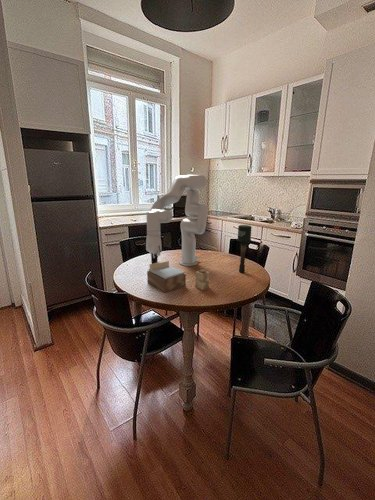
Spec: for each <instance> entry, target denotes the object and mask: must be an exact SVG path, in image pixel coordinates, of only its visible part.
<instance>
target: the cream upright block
mask: <svg viewBox="0 0 375 500" xmlns="http://www.w3.org/2000/svg"><path fill="white" fill-rule="evenodd" d="M209 279H210V271H207V270H206V269H204V268H203V269H202V268H201V269H199V270H197V271H195V288H197V289H199V290H201V291H203V290H206V289H208V288H209V283H210V282H209V281H210V280H209Z"/></svg>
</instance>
